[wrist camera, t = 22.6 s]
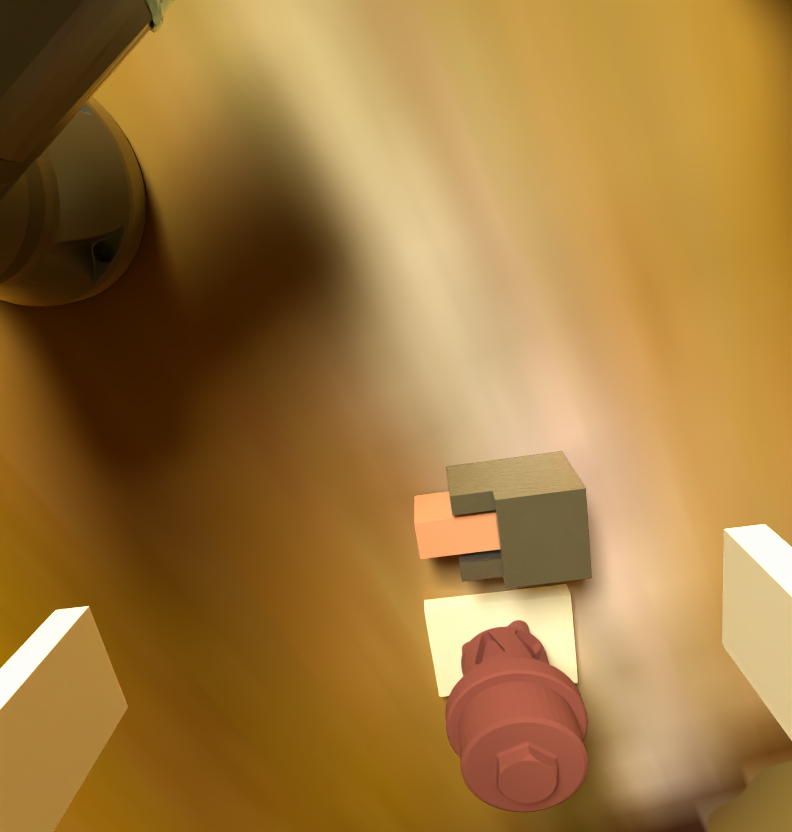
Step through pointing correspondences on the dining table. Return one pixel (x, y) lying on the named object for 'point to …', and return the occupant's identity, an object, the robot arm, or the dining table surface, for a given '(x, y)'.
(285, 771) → the dining table surface
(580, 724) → the mechanical component
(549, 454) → the housing
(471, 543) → the key
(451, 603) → the block
